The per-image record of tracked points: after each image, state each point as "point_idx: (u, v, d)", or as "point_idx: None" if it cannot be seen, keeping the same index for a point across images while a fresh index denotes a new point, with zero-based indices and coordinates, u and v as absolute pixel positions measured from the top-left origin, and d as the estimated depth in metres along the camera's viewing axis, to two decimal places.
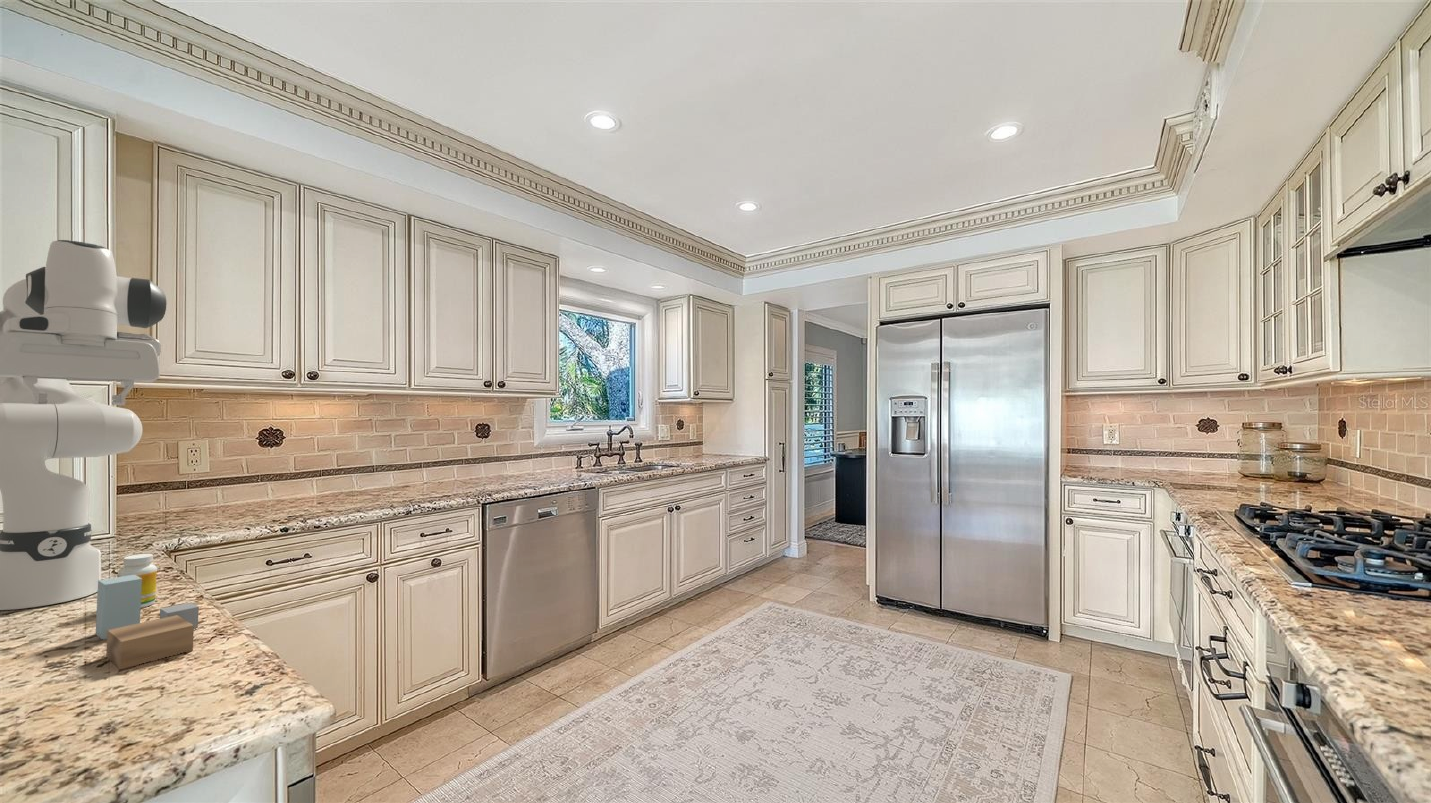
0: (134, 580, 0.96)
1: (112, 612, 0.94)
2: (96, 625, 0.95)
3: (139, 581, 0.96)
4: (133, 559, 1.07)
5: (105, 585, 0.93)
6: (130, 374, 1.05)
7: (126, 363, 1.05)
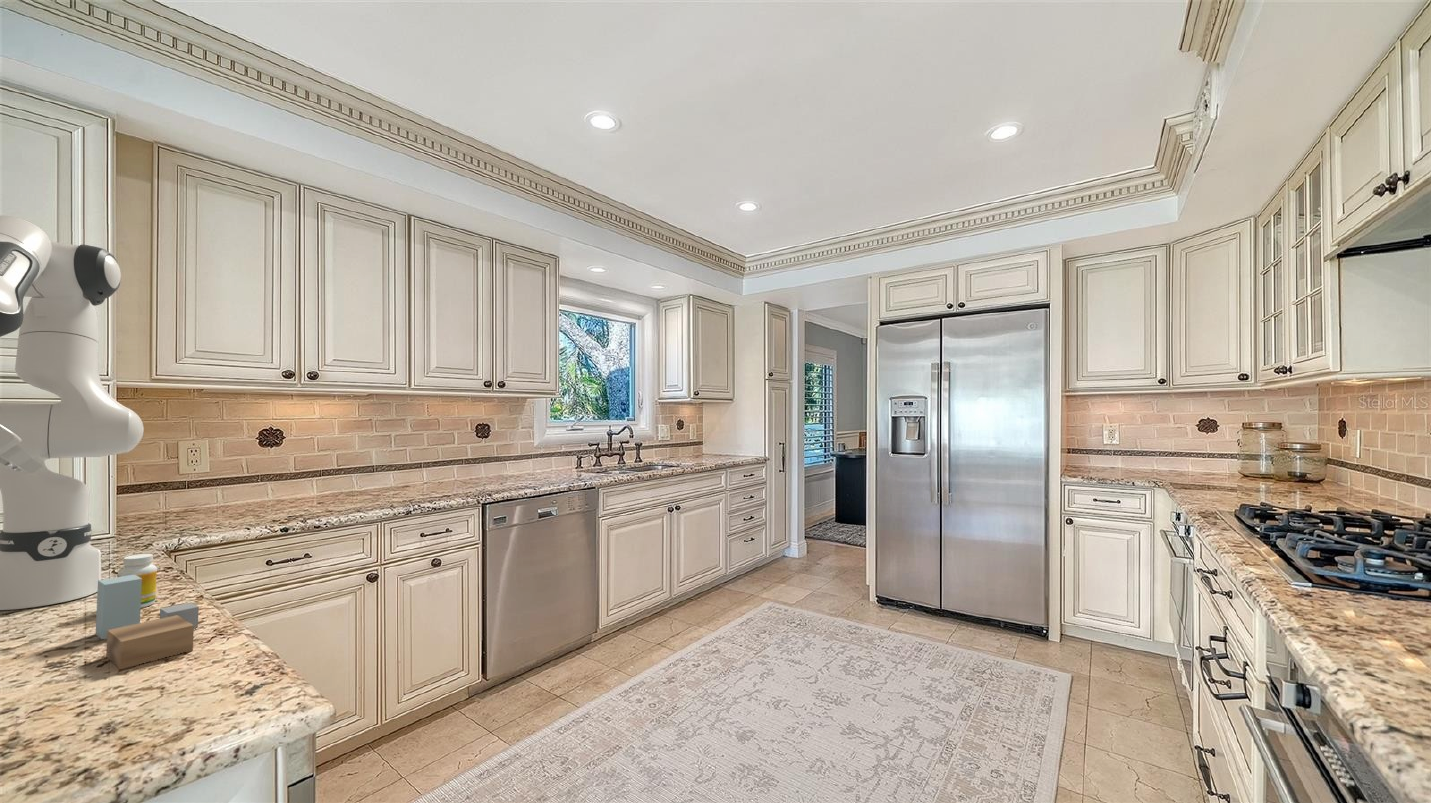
0: (134, 580, 0.96)
1: (112, 612, 0.94)
2: (96, 625, 0.95)
3: (139, 581, 0.96)
4: (133, 559, 1.07)
5: (105, 585, 0.93)
6: None
7: None
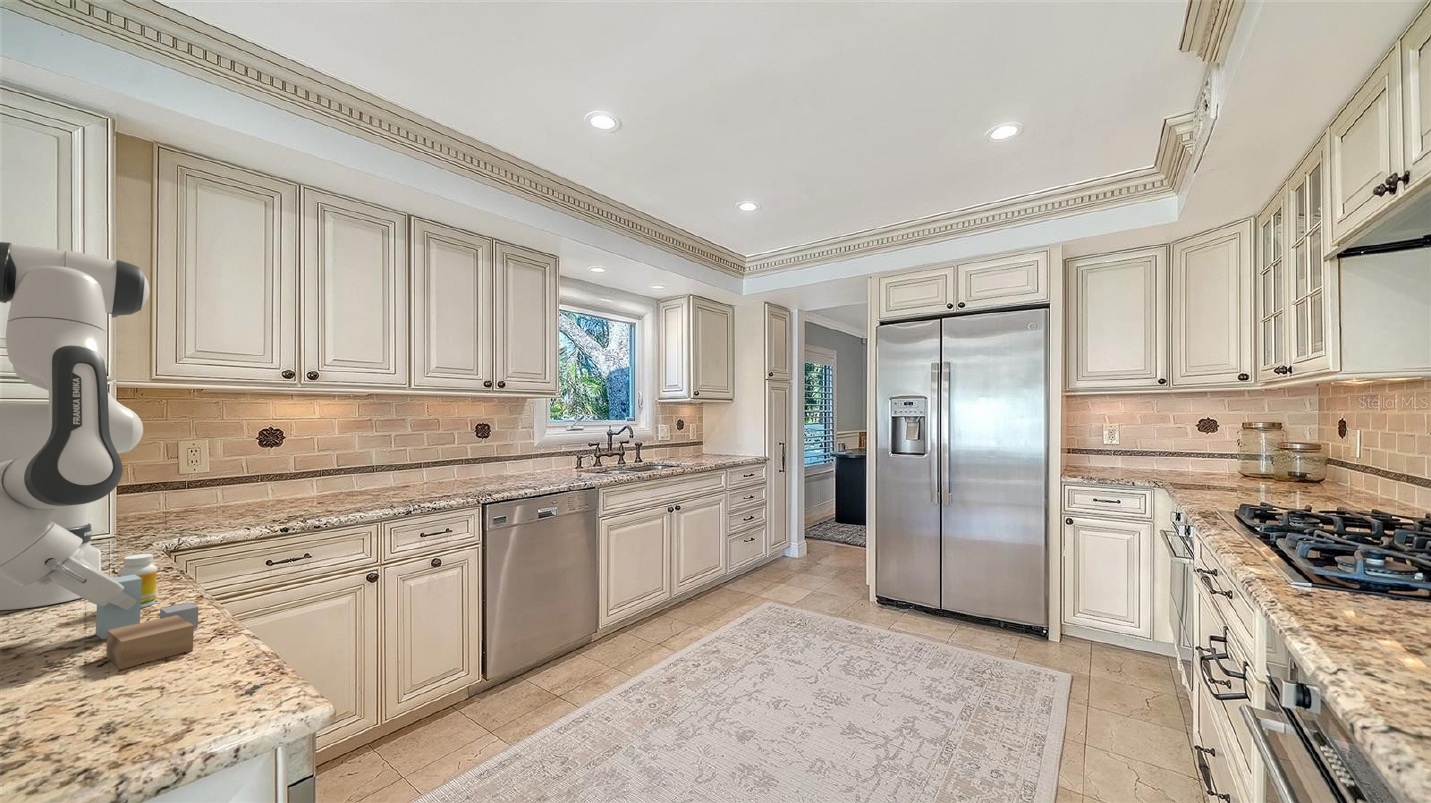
0: (134, 580, 0.96)
1: (112, 612, 0.94)
2: (96, 625, 0.95)
3: (139, 581, 0.96)
4: (133, 559, 1.07)
5: None
6: None
7: None
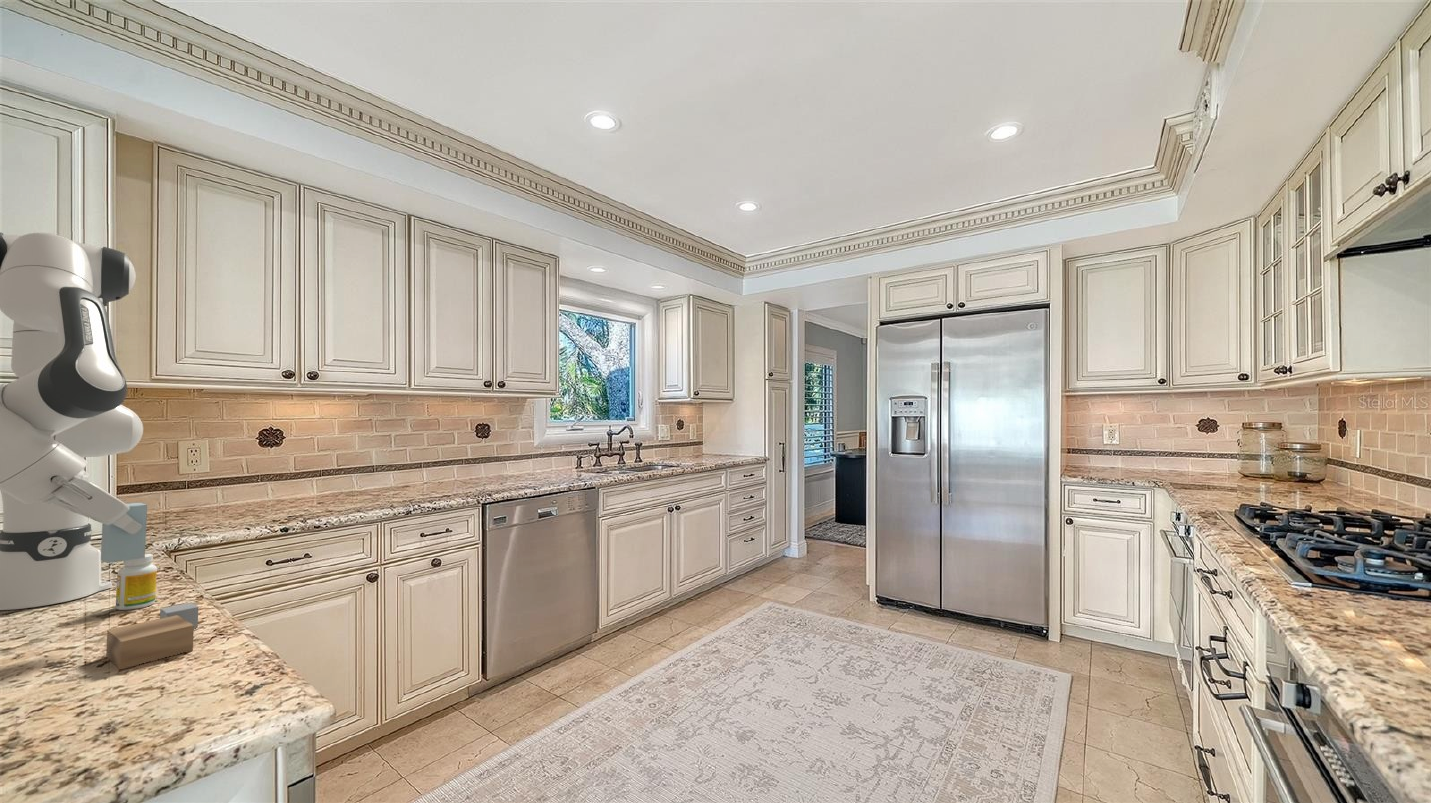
0: (139, 506, 0.95)
1: (117, 536, 0.93)
2: (101, 550, 0.94)
3: (144, 507, 0.96)
4: (133, 559, 1.07)
5: None
6: (96, 520, 0.88)
7: (82, 512, 0.88)
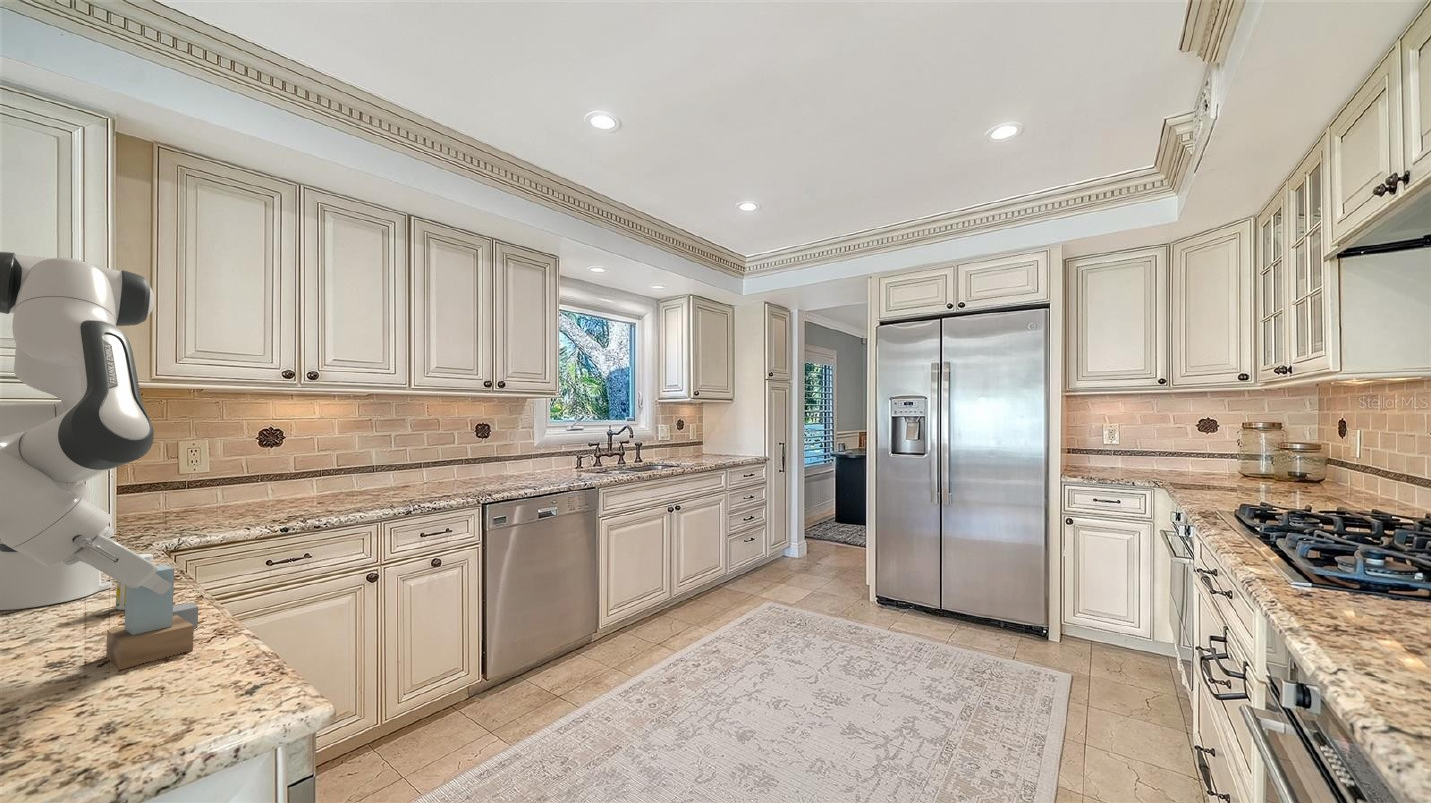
0: (166, 570, 0.88)
1: (143, 604, 0.85)
2: (125, 620, 0.86)
3: (171, 571, 0.88)
4: None
5: None
6: None
7: None
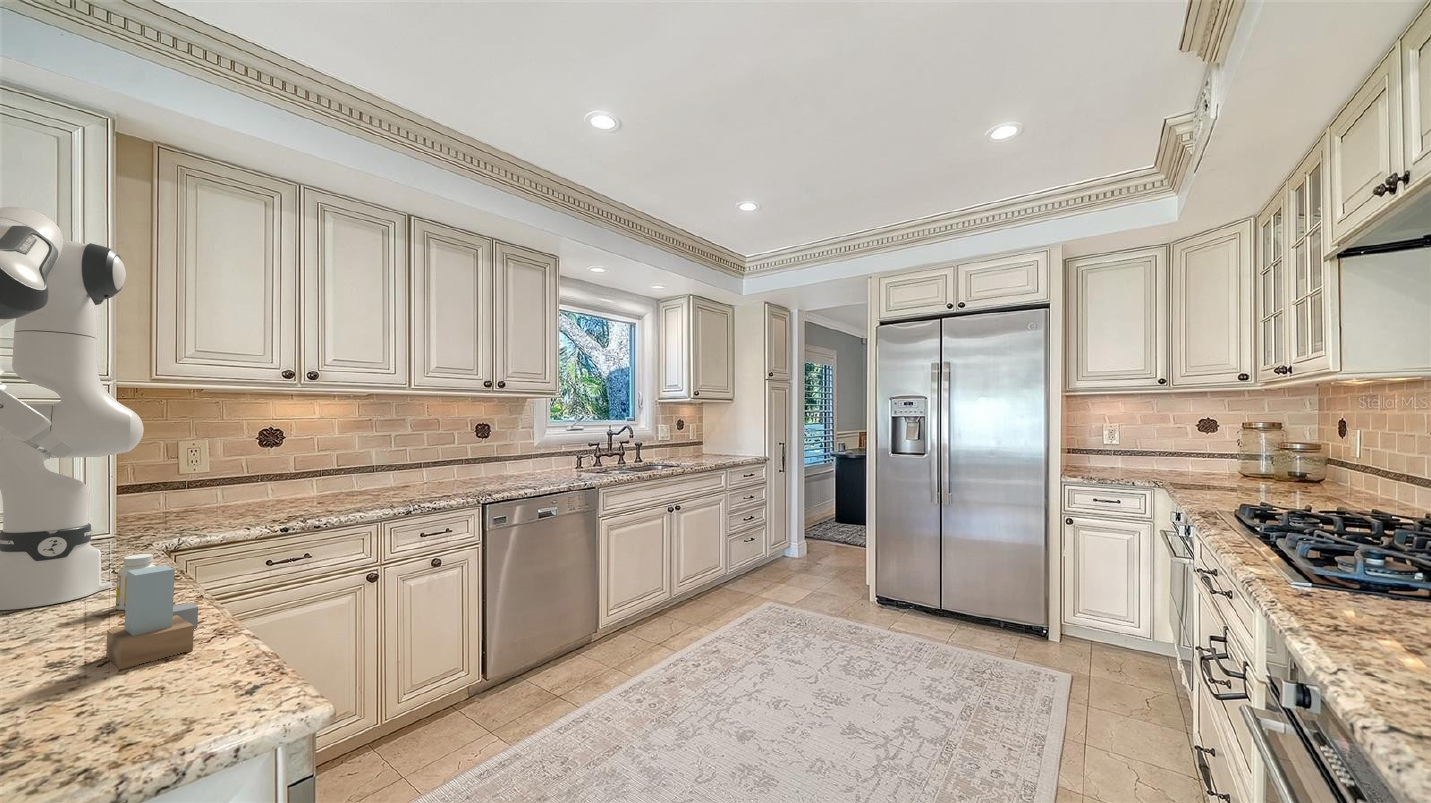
0: (166, 571, 0.87)
1: (143, 605, 0.85)
2: (125, 620, 0.86)
3: (172, 572, 0.88)
4: (133, 559, 1.07)
5: (136, 576, 0.85)
6: (12, 436, 0.76)
7: None
